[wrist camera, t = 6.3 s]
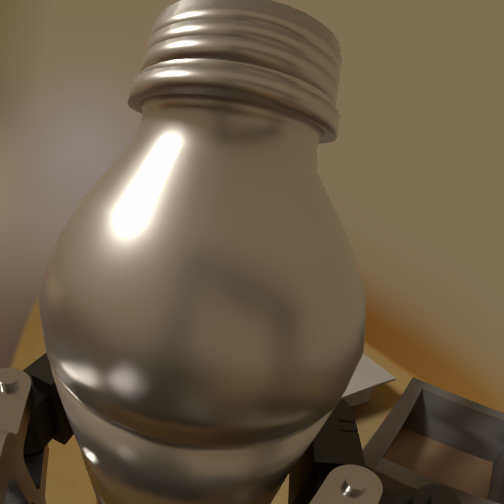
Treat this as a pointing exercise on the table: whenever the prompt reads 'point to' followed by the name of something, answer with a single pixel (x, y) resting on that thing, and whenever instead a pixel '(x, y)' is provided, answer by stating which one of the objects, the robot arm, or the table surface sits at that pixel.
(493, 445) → the open square tray
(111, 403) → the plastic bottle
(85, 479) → the table surface
